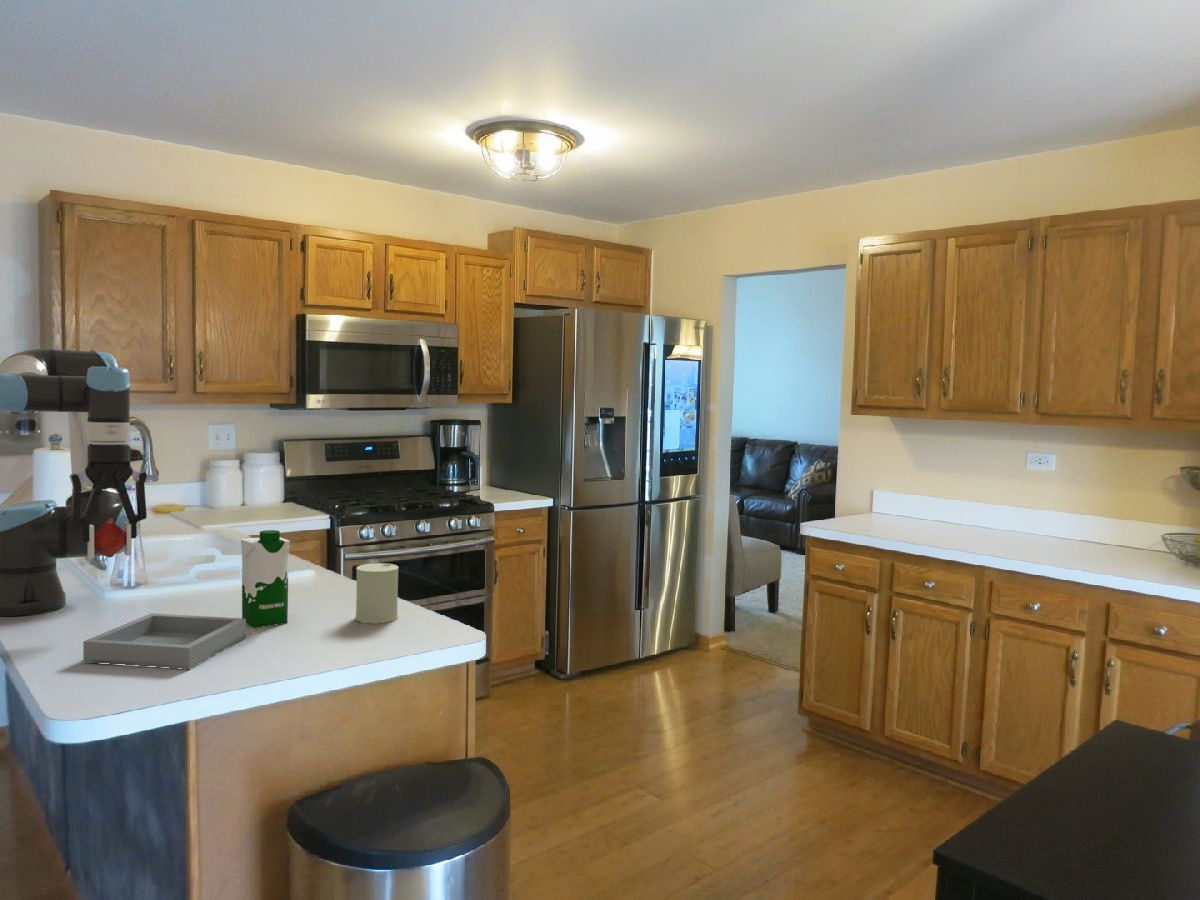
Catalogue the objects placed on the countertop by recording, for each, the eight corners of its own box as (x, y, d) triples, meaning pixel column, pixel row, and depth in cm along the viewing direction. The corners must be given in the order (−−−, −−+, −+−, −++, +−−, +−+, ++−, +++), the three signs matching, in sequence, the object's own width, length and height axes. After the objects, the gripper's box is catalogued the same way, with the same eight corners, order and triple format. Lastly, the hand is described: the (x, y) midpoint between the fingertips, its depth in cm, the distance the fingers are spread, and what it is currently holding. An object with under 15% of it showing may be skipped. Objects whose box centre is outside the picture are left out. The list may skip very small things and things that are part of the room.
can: (406, 616, 192) (407, 564, 191) (379, 626, 183) (380, 571, 183) (374, 610, 196) (374, 559, 195) (346, 620, 187) (347, 566, 186)
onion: (91, 560, 170) (91, 520, 170) (93, 555, 175) (94, 517, 175) (125, 559, 173) (125, 520, 172) (126, 554, 178) (126, 516, 177)
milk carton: (252, 630, 177) (253, 535, 176) (235, 620, 184) (236, 529, 182) (293, 623, 183) (294, 531, 182) (275, 614, 190) (276, 525, 188)
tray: (83, 663, 153) (83, 641, 153) (151, 632, 173) (151, 613, 173) (189, 670, 151) (189, 647, 151) (245, 638, 171) (245, 618, 171)
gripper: (56, 444, 164) (57, 563, 165) (164, 443, 176) (164, 554, 177) (51, 442, 169) (52, 557, 171) (155, 441, 182) (156, 549, 183)
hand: (109, 555), depth 174 cm, fingers closed on onion, 6 cm apart
